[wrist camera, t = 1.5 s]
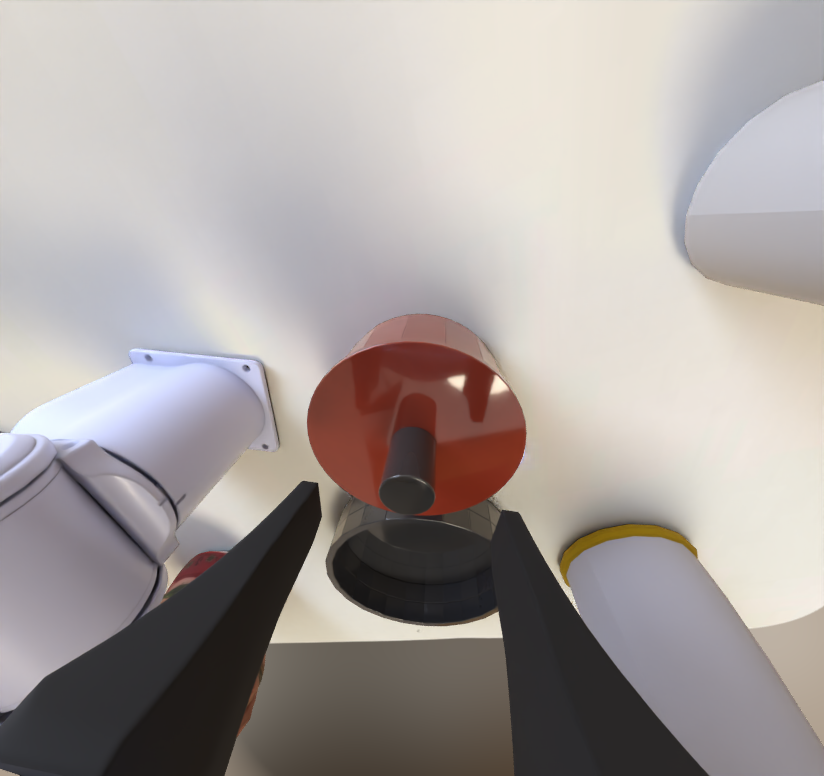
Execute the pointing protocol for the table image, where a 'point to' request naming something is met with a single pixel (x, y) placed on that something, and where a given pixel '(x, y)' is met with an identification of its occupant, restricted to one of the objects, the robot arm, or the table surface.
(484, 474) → the lid
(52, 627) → the robot arm
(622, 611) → the soap bottle
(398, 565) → the pan
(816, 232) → the can
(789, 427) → the table surface
